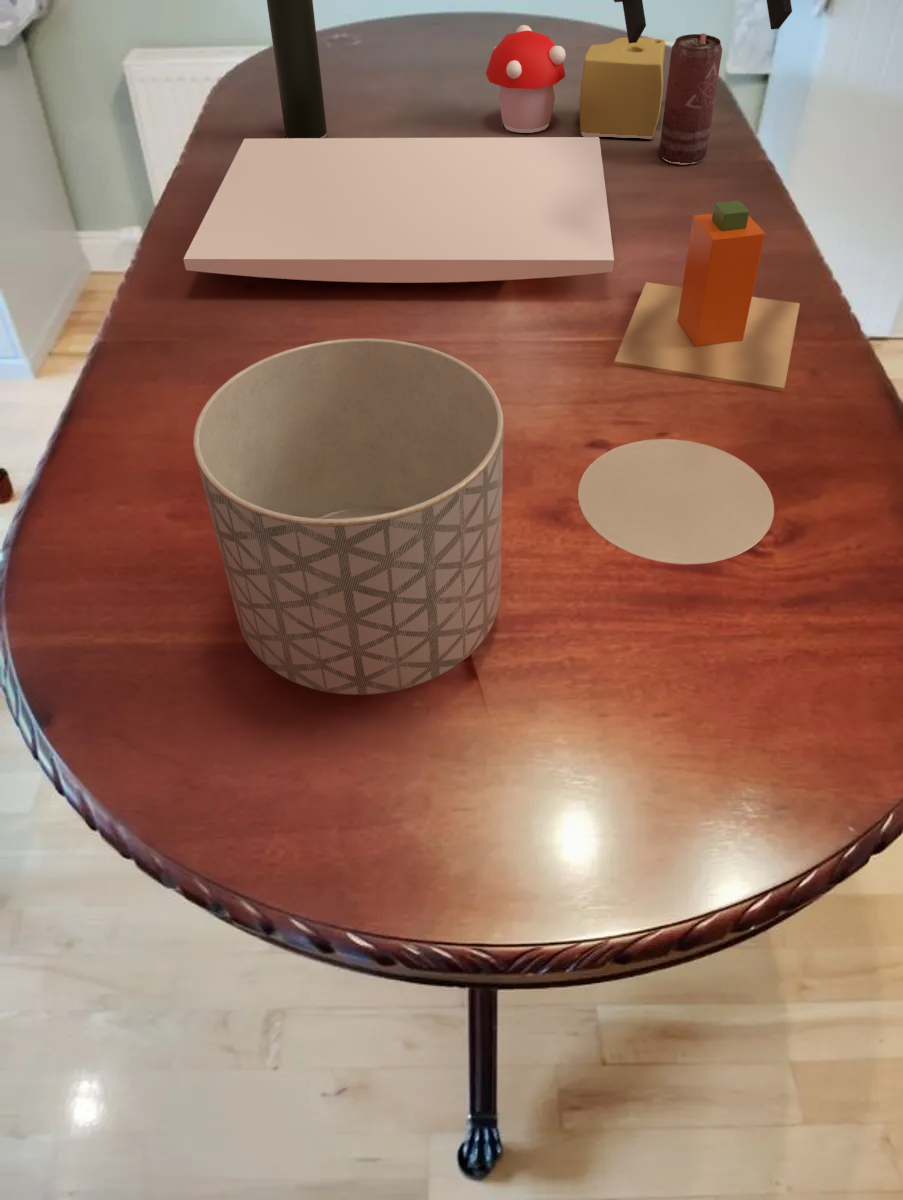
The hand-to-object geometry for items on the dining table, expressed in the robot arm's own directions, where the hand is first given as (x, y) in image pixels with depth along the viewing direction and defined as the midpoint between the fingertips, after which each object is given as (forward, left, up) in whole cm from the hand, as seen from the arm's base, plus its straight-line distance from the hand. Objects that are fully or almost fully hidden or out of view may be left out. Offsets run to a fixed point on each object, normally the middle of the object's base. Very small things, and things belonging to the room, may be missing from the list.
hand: (710, 28), depth 89 cm
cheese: (+15, -43, -26) cm, 52 cm away
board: (+32, -5, -25) cm, 41 cm away
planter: (+13, +55, -25) cm, 62 cm away
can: (+5, -35, -25) cm, 43 cm away
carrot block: (-5, +9, -24) cm, 26 cm away
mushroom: (+28, -40, -26) cm, 55 cm away
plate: (-6, +35, -25) cm, 44 cm away
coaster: (-5, +9, -25) cm, 27 cm away
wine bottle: (+56, -28, -26) cm, 67 cm away
